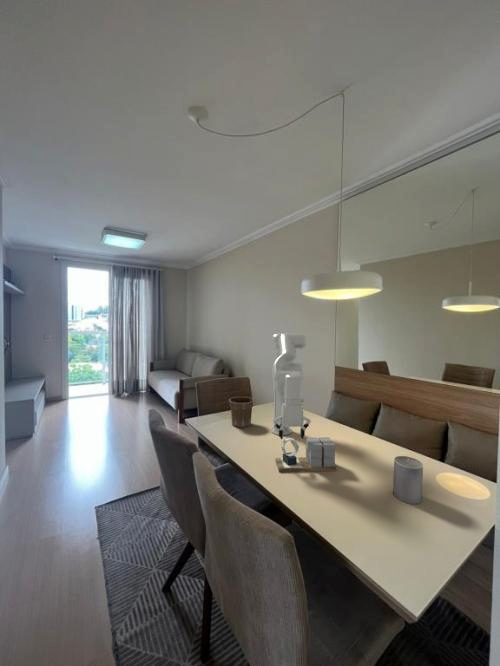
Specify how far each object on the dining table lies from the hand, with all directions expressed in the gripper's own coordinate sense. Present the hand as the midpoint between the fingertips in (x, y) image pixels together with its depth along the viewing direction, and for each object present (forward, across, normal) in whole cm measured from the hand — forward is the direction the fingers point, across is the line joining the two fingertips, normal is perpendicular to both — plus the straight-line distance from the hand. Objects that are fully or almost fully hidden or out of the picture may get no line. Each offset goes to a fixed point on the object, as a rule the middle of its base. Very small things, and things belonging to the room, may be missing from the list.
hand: (291, 437), depth 131 cm
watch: (+11, +1, 0) cm, 11 cm away
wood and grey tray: (+13, -6, +1) cm, 14 cm away
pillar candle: (+13, -39, +26) cm, 49 cm away
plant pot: (+14, +21, -54) cm, 60 cm away
